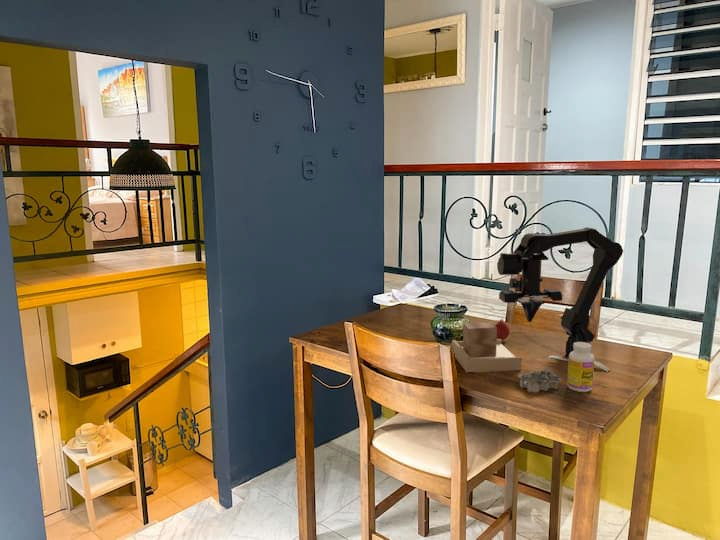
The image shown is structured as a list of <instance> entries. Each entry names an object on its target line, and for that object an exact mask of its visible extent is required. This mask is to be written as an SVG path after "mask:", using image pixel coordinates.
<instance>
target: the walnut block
mask: <svg viewBox="0 0 720 540" xmlns="http://www.w3.org/2000/svg"><path fill="white" fill-rule="evenodd" d="M495 325H496V324H495ZM495 325H494V323H492V322H489V321H487V322H469V323H466V322H465V323H463V327H462V329H463V331H462V332H463V333H462V335H463V337H462V341H463V350H464V351H465V352H466V353H467V354H468V356H469V357H470V358H474V357H494V356H496V342H497V327H496V326H495Z"/></svg>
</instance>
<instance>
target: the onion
mask: <svg viewBox="0 0 720 540" xmlns="http://www.w3.org/2000/svg"><path fill="white" fill-rule="evenodd" d="M495 326H496V327H497V339H501V340H502V342H503V341H504V340H506V339H507V338H509V336H510V333H511V329H510V327H509V325H508V324H507V323H506V322H504V319H503V318H501V319H500V321H499V322H497V323H496V324H495Z"/></svg>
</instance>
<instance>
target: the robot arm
mask: <svg viewBox="0 0 720 540" xmlns="http://www.w3.org/2000/svg"><path fill="white" fill-rule="evenodd" d="M585 242H586V243H587V244H588V245H589V246H590V247H591V248H592V249H594V251H593V254H592V267H591V268H590V271H589V272H588V274H587V276H586V279H585V282H584V284H583V286H582V288H581V290H580V293H579V295H578V297H577V299H576V301H575V304H574V305H573V306H572V307H570V308H568V307H565V308H564V311H563V314H562V316H561V317H560V319H561V321H560V325H561V328H562V329H563V330H564V331H565V334H566V335H567V336H568V337H567V340H566V341H565V354H564V357H566V358H569V354H570V353H571V352H572V351H574V348H573V344H574V343H575V342H585V343H589V344H591V342H593V341H594V338H595V334H594V333H593V332H592V331H591V330H590V329H588V327H589V323H590V310H592V309H591V308H592V306H593V304H594V302H595V300H596V298H597V296H598V293H599V292H600V289H601V287H602V285H603V283H604V280H605V279H606V276H607V274H608V272H609V271H610V270H611V268H614V266H615V265H617V263H618V262H619V260H620V259H621V257H622V256H623V253H624V249H623V247H622V245H621V244H620V243H619V242H616V241H612V240H611V239H610V238H608V237H606V236H605V235H604V234H602V233H601V232H599V231H598V230H597V229H596V228H594V227H593V228H592V227H589V226H588V227H583V228H579V229H574V230H567V231H566V230H565V231H560V232H555V233H534V232H533V233H530V232H529V233H526V234H524V235H523V237H522V238H521V240H520V243H519V245H518V246H517V247H516V249H515V250H514V251H513V252H512V253H506V252H504V253H502V252H501V253H500V254H499V258H498V261H497V265H496V267H497V272H498V275H500V276H510V275H511V276H512V275H514V276H515V275H519V274H520V273H521V275H520V276H519V280H518V278H516V277H514V278H512V277H511V278H509V282H508V283H509V290H507V289H505V290H500V291H499V293H498V295H499V296H498V300H500V301H502V302H503V303H506V304H511V303H512V304H514V303H516V302H517V303H519V304H521V306H522V308H523V311H524V315H525V317H526V320H527V322H528V323H532V322H533V319H534V317H535V315H536V313H537V312H538V311H539V309H540V308H541V306H542V305H545V301H543V300H544V299H545V298H546V299H549V298H550V299H551V300H552V301H553V302H562V301H563V293H562V292H561V291H560V290H558V289H557V288H543V290H542V291H541V283H542V282H543V278H542V275H541V274H542V261H548V260H549V259H550V258H549V257H548V256H547V255H546V254H545V252H547V251H549V250H551V249H552V248H555V247H560V246H567V245H573V244H579V243H585ZM510 289H511V290H510ZM513 289H514V290H513Z"/></svg>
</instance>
